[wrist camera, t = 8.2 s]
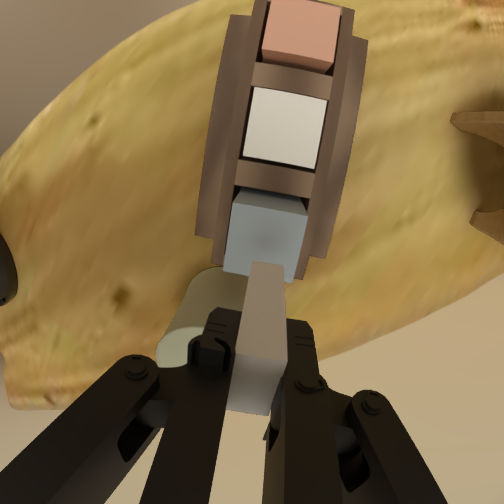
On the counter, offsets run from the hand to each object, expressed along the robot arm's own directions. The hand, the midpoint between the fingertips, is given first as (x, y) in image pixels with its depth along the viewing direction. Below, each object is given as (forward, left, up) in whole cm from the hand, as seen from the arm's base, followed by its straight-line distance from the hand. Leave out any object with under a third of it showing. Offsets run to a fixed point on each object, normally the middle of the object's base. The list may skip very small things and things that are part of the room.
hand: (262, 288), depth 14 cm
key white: (0, +8, -14) cm, 16 cm away
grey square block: (0, 0, -13) cm, 13 cm away
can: (-3, -12, -17) cm, 21 cm away
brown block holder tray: (0, +8, -17) cm, 19 cm away
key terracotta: (0, +16, -14) cm, 21 cm away
